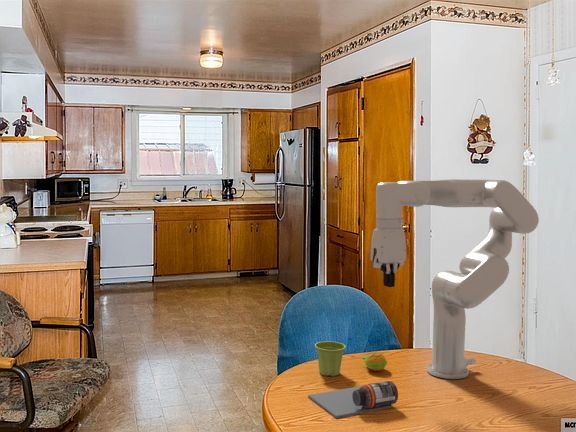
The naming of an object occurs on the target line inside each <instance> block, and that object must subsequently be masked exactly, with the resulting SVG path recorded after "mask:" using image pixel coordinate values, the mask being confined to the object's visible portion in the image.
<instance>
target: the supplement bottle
mask: <svg viewBox="0 0 576 432" xmlns="http://www.w3.org/2000/svg"><path fill="white" fill-rule="evenodd" d="M360 386H361V387H360V388H359V389H358V390H354V391H353V394H352V398H353V402H354V404H355V405H356V406H363V407H364V408H374V407H379V406H385V405H394V404H396V403H397V402H398V400H399V391H398V387H397V385H396V384H395V383H394V382H393V381H392V380H385V381H381V382H373V383H366V384H363V385H360Z"/></svg>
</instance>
